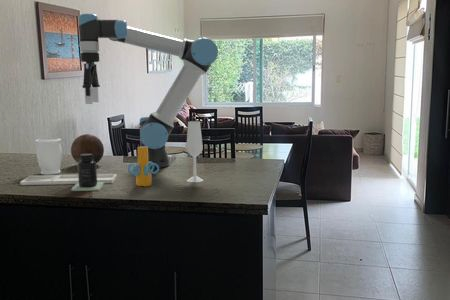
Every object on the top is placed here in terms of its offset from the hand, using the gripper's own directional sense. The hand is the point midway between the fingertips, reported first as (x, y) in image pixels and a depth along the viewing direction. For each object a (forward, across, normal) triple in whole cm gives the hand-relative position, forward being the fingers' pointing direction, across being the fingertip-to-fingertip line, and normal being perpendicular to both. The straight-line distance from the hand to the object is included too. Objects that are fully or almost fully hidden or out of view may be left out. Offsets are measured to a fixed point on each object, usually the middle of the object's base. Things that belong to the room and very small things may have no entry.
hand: (92, 103), depth 197 cm
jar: (+31, -3, -20) cm, 37 cm away
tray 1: (+31, +14, -20) cm, 39 cm away
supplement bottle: (+30, +26, +2) cm, 40 cm away
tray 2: (+31, +14, +4) cm, 34 cm away
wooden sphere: (+31, -19, -7) cm, 37 cm away
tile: (+31, +26, +2) cm, 40 cm away
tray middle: (+31, +14, -8) cm, 35 cm away
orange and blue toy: (+31, +24, +23) cm, 45 cm away
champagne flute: (+31, +18, +43) cm, 56 cm away
